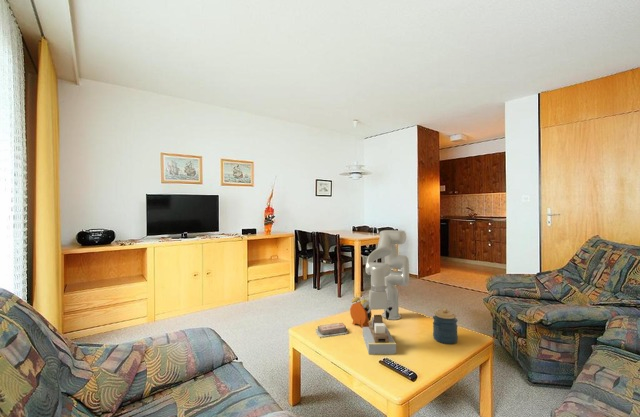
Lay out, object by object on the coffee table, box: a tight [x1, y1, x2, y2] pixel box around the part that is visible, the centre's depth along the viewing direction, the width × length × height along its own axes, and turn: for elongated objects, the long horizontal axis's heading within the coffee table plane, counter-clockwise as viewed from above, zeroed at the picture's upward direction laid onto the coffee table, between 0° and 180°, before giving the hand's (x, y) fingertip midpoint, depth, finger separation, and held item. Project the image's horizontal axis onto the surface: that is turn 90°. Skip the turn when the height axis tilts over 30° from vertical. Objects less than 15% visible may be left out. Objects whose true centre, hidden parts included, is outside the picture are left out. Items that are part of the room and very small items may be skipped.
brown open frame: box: [368, 314, 389, 343], centre depth 162 cm, size 19×7×10 cm, turn 0°
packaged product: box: [314, 322, 349, 338], centre depth 177 cm, size 18×5×10 cm
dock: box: [362, 326, 397, 355], centre depth 162 cm, size 22×14×5 cm, turn 0°
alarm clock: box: [349, 292, 372, 329], centre depth 188 cm, size 13×6×20 cm, turn 40°
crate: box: [374, 322, 386, 333], centre depth 158 cm, size 4×5×4 cm
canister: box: [432, 307, 459, 345], centre depth 167 cm, size 13×13×18 cm
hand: (378, 319), depth 162 cm, fingers open, 9 cm apart
